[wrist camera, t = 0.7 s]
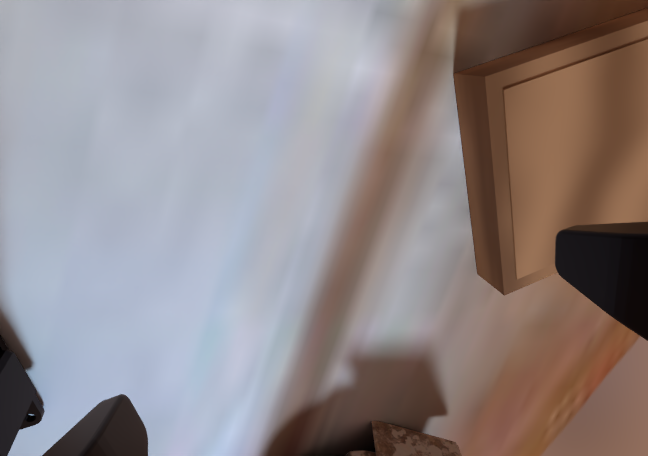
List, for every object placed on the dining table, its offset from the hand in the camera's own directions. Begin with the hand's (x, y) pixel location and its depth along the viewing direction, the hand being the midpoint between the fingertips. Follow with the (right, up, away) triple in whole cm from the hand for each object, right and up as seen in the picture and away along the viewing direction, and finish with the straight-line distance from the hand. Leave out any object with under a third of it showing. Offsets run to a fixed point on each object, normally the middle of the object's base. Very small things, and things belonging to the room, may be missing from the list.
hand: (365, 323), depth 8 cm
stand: (+13, +6, +16) cm, 21 cm away
